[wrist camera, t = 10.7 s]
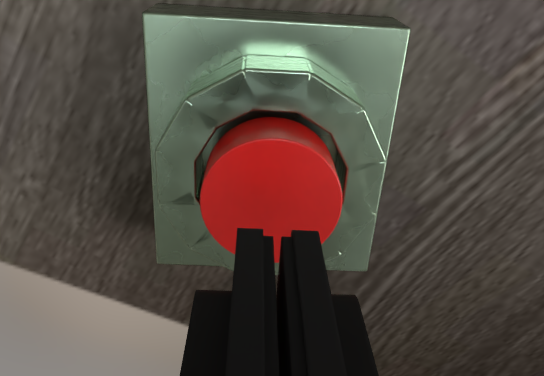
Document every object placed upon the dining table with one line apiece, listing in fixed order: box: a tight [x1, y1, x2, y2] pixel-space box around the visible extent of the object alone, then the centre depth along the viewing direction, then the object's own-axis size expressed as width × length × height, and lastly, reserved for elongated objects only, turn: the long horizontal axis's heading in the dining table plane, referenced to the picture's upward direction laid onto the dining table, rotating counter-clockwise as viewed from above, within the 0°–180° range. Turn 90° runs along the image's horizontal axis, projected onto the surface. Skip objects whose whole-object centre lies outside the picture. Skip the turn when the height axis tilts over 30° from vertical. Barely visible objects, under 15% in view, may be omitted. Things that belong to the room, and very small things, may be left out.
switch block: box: [142, 3, 411, 275], centre depth 17 cm, size 9×8×4 cm
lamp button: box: [200, 117, 343, 263], centre depth 14 cm, size 4×4×2 cm
